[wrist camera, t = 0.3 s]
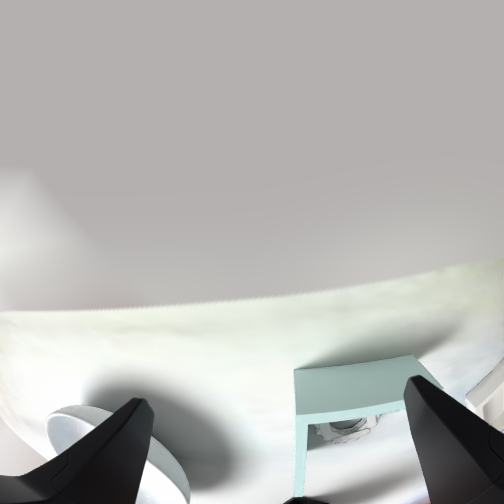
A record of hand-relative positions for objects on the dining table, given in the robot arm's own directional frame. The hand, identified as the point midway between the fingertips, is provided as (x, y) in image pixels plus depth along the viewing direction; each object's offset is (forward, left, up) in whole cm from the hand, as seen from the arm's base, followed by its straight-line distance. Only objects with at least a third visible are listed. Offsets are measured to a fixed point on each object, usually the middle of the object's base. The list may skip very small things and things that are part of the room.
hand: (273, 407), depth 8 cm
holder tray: (+3, -35, -15) cm, 39 cm away
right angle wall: (-7, -13, -16) cm, 22 cm away
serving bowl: (-30, +5, -16) cm, 34 cm away
